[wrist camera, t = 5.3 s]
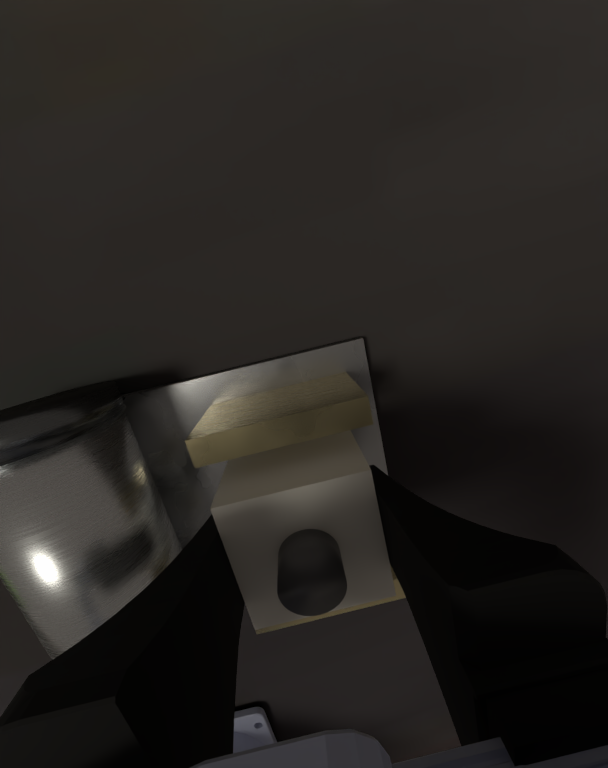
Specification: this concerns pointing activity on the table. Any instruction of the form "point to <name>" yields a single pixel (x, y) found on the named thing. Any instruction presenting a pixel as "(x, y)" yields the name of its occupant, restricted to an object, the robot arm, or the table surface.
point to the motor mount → (153, 475)
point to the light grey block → (303, 530)
